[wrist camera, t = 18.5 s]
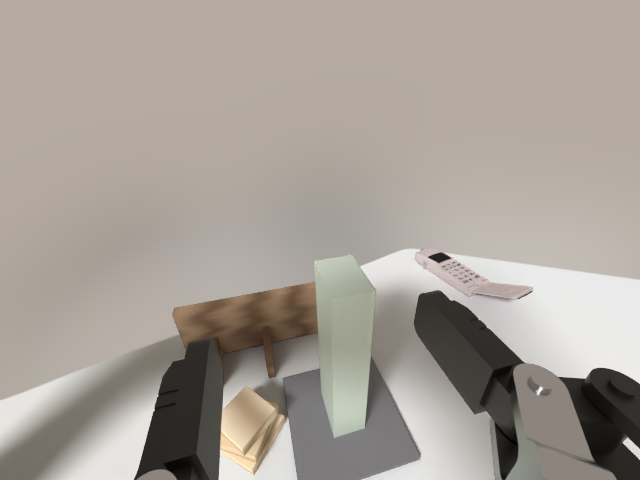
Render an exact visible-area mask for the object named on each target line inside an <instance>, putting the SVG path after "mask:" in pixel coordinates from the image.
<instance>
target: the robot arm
mask: <svg viewBox="0 0 640 480" xmlns="http://www.w3.org/2000/svg"><path fill="white" fill-rule="evenodd" d="M414 326H415V330H416V333H417V335H418V336H419V338H420V339H421V341H422V342H423V343H424V345H425V346H426V348H427V349H428V350H429V352H430V353H431V355H432V356H433V357H434V359H435V360H436V361H437V363H438V364H439V366H440V367H441V368H442V370H443V371H444V373H445V374H446V375H447V377H448V378H449V380H450V381H451V382H452V384H453V385H454V387H455V388H456V389H457V391H458V392H459V394H460V395H461V396H462V398H463V399H464V401H465V402H466V403H467V405H468V406H469V407H470V409H471V410H472V412H473V413H474V414H477V413H480V412H484V411H487V412H488V414H489V415H490V416H491V418H490V432H491V442H492V452H493V462H494V472H495V480H640V460H639V459H638V458H637V457H636V456H635V455H634V454H633V453H632V452H631V451H630V450H629V449H628V448H627V447H626V446H625V445H624V444H623V443H622V442H623V441H624V440H625V439H626V438H627V437H628V438H629V439H630V440H631V441H632V442H633V443H634V444H635V445H637V446H638V447H639V448H640V384H639V383H637V382H636V381H635V380H633V379H631V378H630V377H628V376H626V375H624V374H622V373H620V372H617V371H614V370H611V369H606V368H596V369H593V370H592V371H591V372H590V374H589V375H588V376H587V378H586V379H580V378H564V377H557V376H556V375H554V374H553V373H552V372H550V371H548V370H547V369H545V368H543V367H540V366H537V365H534V364H527V363H524V362H523V361H522V360H521V359H520V358H519V357H518V356H517V355H516V354H515V353H514V352H513V351H511V350H510V349H509V348H508V347H507V346H506V345H505V344H504V343H503V342H502V341H501V340H500V339H499V338H498V337H497V336H496V335H495V334H494V333H493V332H492V331H491V330H490V329H487V326H486V325H485V324H484V323H483V322H482V321H481V320H478V318H477V317H476V316H475V315H474V314H473V313H472V312H471V311H470V310H469V309H468V308H467V307H465V306H463V305H461V304H460V303H458V302H456V301H450V300H449V299H448V298H447V296H446V295H445V294H444V293H442V292H441V291H439V290H437V291H432V292H427V293H423V294H420V295H419V297H418V303H417V308H416V314H415V319H414ZM223 384H224V379H223V369H222V364H221V361H220V358H219V355H218V352H217V348H216V345H215V342H214V339H213V338H212V337H210V338H205V339H200V340H196V341H191V342H189V343H188V345H187V350H186V355H185V359H183V360H179V361H174V362H173V363H172V364H171V366H170V367H169V369H168V370H167V372H166V373H165V375H164V376H163V378H162V382H161V385H160V389H159V393H158V395H159V396H158V397H157V401H156V404H155V411H154V412H153V416H152V420H151V423H150V427H149V431H148V435H147V438H146V442H145V446H144V450H143V454H142V457H141V461H140V465H139V468H138V471H137V474H136V476H135V478H134V480H218V477H219V458H220V440H221V421H222V403H223Z"/></svg>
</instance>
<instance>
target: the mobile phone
mask: <svg viewBox="0 0 640 480" xmlns="http://www.w3.org/2000/svg"><path fill="white" fill-rule="evenodd" d="M415 259H416V261H418V262H419V263H420V264H421V265H422V266H423V268H424V269H427V270H429V271H430V272H432V273H433V274H435V275H436V276H438V277H439V278H441V279H442V280H444V281H445V282H447V283H448V284H450V285H451V286H453V287H454V288H456V289H457V290H459V291H460V292H462V293H464V294H465V295H467V296H468V297H471V296H473V295H475V294H477V293H478V294H484V295H491V296H497V297H504V298H510V299H516V300H517V299H520V298H522V297H524V296H526V295H528V294H529V293H531V292H533V287H528V286H521V285H520V286H519V285H509V284H499V283H489V280H488V279H487V280H486V279H485V278H483V277H482V276H480V275H478V274H477V273H475V272H473V271H472V270H470V269H469V268H467V267H465V266H464V265H462V264H461V263H459V262H457V261H456V260H454V259H453V258H452V257H450V256H448V255H447V254H445V253H443V252H441V251H439V250H437V249H434V248H428V249H426V250H424V249H421V251H420V252H417V253H416V257H415Z"/></svg>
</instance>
